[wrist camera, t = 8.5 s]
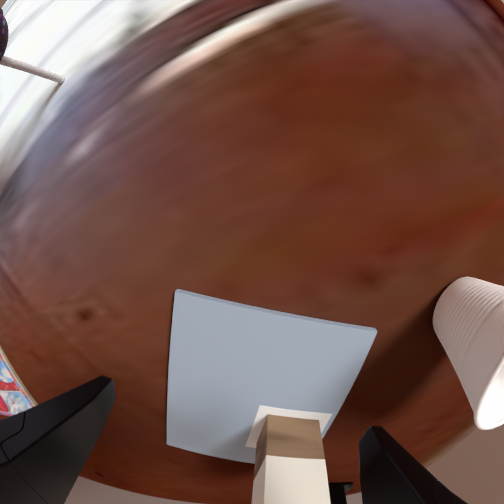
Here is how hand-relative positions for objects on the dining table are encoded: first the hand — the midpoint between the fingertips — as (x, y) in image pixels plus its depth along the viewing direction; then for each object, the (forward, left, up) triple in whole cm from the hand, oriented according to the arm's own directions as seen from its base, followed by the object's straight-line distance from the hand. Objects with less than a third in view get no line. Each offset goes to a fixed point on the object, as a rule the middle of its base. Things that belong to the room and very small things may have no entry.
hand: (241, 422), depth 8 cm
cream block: (-15, -6, -7) cm, 18 cm away
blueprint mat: (-12, -2, -13) cm, 18 cm away
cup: (+1, -18, -13) cm, 22 cm away
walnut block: (-15, -6, -12) cm, 20 cm away
